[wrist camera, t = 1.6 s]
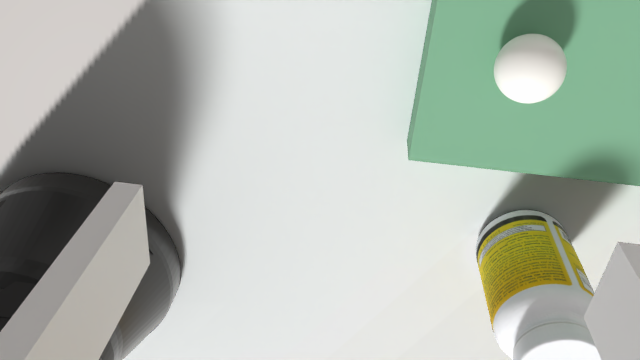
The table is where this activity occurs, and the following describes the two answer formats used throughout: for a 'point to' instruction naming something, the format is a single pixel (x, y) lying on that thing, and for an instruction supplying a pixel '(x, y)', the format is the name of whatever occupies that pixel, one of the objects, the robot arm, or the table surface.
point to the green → (534, 118)
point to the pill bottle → (535, 288)
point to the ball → (530, 68)
